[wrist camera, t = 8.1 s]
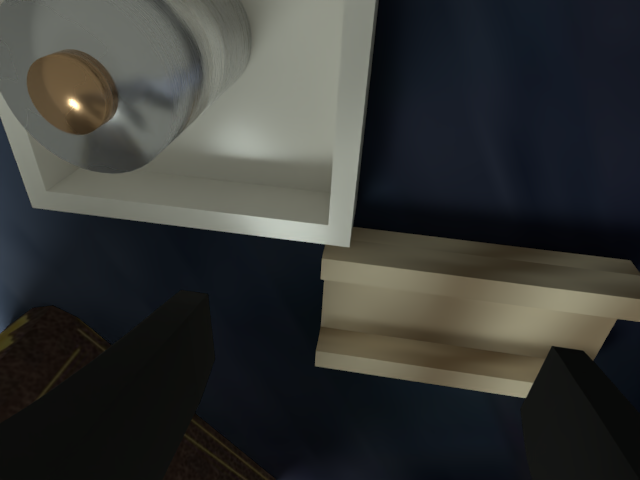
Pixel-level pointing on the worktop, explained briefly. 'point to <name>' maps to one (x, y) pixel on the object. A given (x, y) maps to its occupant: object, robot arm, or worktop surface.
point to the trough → (464, 308)
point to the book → (76, 352)
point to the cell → (117, 72)
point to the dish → (246, 138)
